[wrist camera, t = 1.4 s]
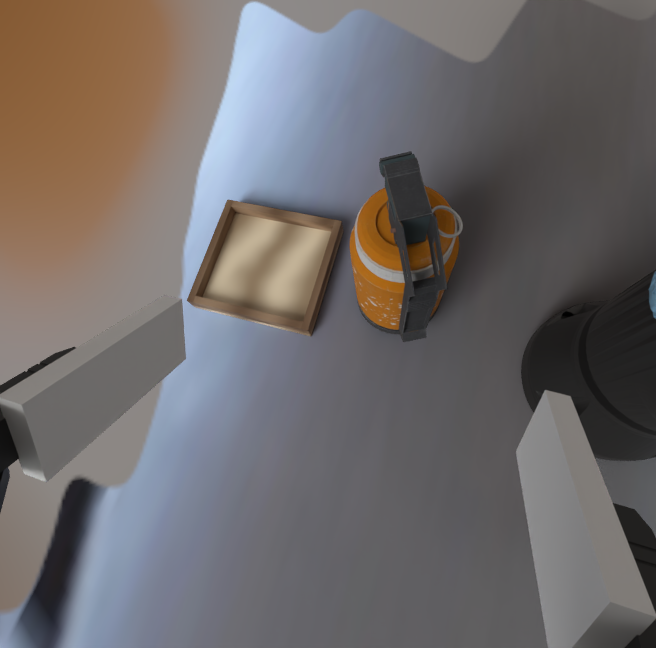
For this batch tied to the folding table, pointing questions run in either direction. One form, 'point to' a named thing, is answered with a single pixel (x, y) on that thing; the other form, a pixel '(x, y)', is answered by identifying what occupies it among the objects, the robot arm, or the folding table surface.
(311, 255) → the wooden tray
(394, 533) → the folding table surface
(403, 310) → the canister
